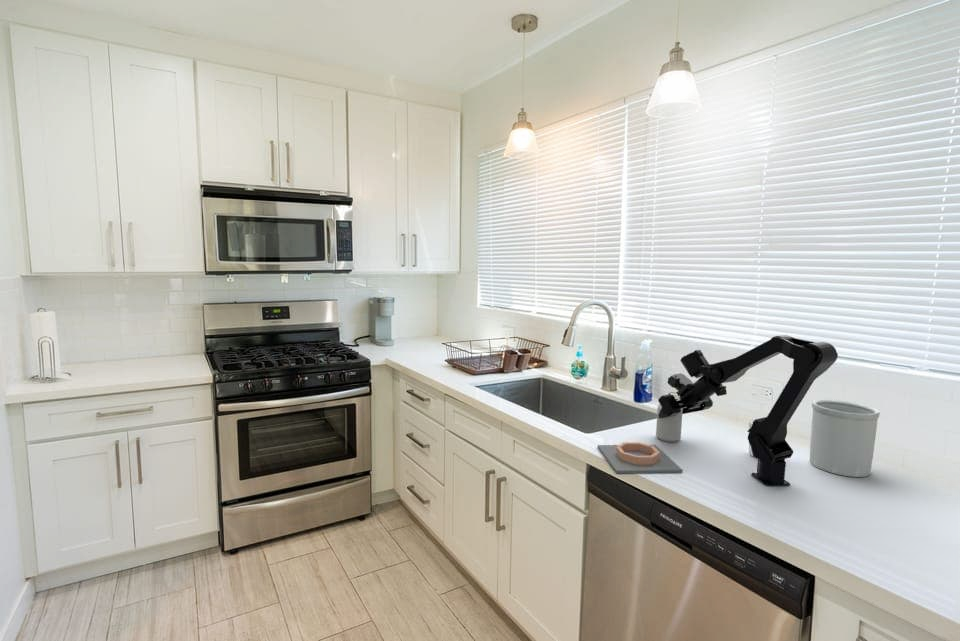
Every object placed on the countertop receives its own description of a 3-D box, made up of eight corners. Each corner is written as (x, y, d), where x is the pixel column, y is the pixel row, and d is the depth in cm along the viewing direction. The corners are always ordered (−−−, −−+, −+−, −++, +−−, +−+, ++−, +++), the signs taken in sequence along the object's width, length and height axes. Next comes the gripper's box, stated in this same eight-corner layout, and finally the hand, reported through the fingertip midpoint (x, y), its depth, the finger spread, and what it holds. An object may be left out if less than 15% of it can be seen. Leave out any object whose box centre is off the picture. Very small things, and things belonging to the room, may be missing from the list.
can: (682, 444, 150) (685, 406, 148) (657, 442, 151) (659, 405, 150) (678, 435, 157) (680, 400, 156) (654, 433, 159) (656, 398, 157)
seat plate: (682, 472, 129) (683, 462, 129) (616, 473, 129) (617, 462, 128) (655, 447, 147) (656, 437, 147) (597, 447, 146) (597, 438, 146)
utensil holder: (805, 452, 144) (810, 395, 142) (867, 463, 137) (874, 403, 134) (808, 470, 132) (814, 408, 130) (877, 483, 124) (885, 417, 122)
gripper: (707, 364, 151) (676, 390, 162) (665, 370, 142) (635, 396, 153) (728, 395, 145) (694, 419, 156) (685, 403, 136) (653, 428, 148)
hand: (669, 415), depth 153 cm, fingers open, 9 cm apart
